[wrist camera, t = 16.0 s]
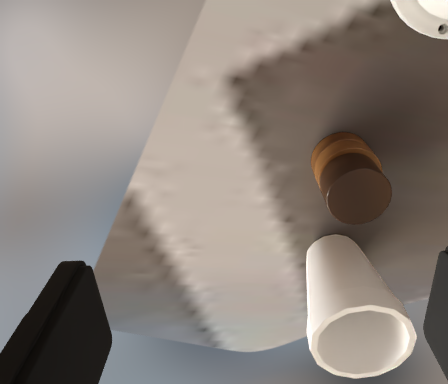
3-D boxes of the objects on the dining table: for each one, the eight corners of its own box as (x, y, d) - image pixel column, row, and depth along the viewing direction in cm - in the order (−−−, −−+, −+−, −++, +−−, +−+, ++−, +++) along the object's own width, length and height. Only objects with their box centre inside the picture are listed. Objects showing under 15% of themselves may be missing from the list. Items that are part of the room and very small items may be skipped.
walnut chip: (371, 143, 36) (384, 159, 33) (384, 194, 38) (397, 213, 35) (312, 164, 37) (318, 181, 34) (328, 212, 39) (336, 232, 36)
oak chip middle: (367, 130, 38) (374, 138, 36) (381, 182, 40) (388, 193, 38) (307, 152, 39) (310, 161, 37) (323, 201, 41) (327, 212, 39)
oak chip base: (361, 123, 39) (367, 130, 38) (374, 173, 42) (381, 182, 40) (303, 144, 41) (307, 152, 39) (319, 191, 43) (323, 201, 41)
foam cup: (365, 287, 49) (404, 379, 38) (291, 286, 50) (306, 377, 38) (378, 222, 45) (426, 305, 33) (296, 222, 45) (316, 304, 34)
